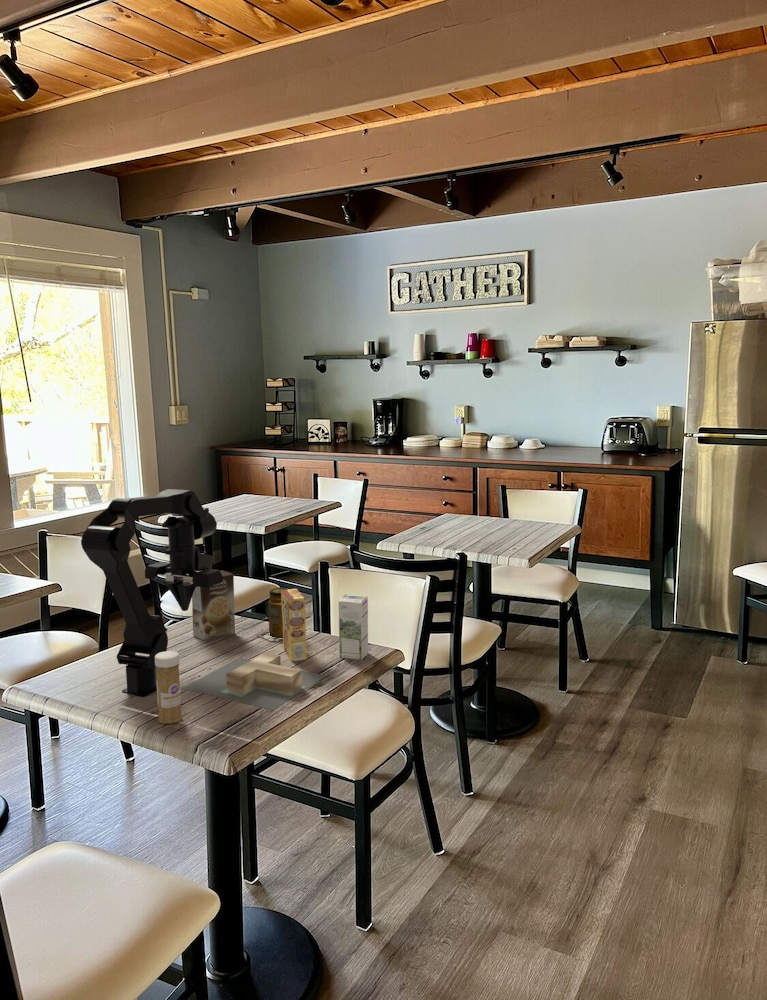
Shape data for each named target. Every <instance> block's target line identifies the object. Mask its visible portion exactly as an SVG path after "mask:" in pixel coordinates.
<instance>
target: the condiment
mask: <svg viewBox="0 0 767 1000" xmlns="http://www.w3.org/2000/svg"><path fill="white" fill-rule="evenodd" d="M288 589H289V588H287V587H274V588H272V589H270V591H269V600H268V603H267V604H268V605H267V607H268V631H266V632H263V633H262V632H261V633H258V634H256V637H259V638H261V637H263V636H264V635H266V634H265V633H268V632H269V633H270V636H272V637H276V638H283V625H282V602H281V590H288ZM263 638H264V637H263ZM263 638H262V639H263ZM279 641H281V640H280V639H279Z"/></svg>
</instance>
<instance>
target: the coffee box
mask: <svg viewBox="0 0 767 1000" xmlns="http://www.w3.org/2000/svg"><path fill="white" fill-rule="evenodd" d="M220 571H221V572H222V574H223V582H221V583H218V584H216V585H213V586H210V587H206V588H204V587H196V588H195V590H194V593H193V595H192V599H191V604H192V605H191V607H192V611H191V612H192V633H193V634H192V635H193V636H194V637H196V638H197V639H200V640H204V641H205V640H210V639H213V638H218V637H223V636H227V635H229V636H233V635H236V621H235V620H236V619H235V618H236V617H235V616H236V615H235V612H236V611H235V610H236V609H235V585H234V584H235V583H234V582H235V581H234V578H235V577H234V574H233V573H231V572H229V571H225V570H220Z"/></svg>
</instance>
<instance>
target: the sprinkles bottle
mask: <svg viewBox="0 0 767 1000" xmlns="http://www.w3.org/2000/svg"><path fill="white" fill-rule="evenodd" d="M155 665H156V674H157V680H156V683H157V691H156V698H157V708H158V718H157V719H158V722H159V723H160V724H164V725H168V724H169V725H171V724H175V723H177V722H180V720H182V718H183V715H182V696H181V695H182V694H181V693H182V692H181V686H180V685H181V682H180V667H179V666H180V654H179V652H177V651H174V650H167V651H165V652H160V653H158V654H156V655H155Z"/></svg>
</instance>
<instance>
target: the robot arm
mask: <svg viewBox="0 0 767 1000" xmlns="http://www.w3.org/2000/svg"><path fill="white" fill-rule="evenodd" d="M195 492H196V491H194V490H191V489H178V488H177V489H175V488H167V489H165V490H162V491H160V492H159V493H158V494H157V495H156V494H155V495H149V496H148V495H147V496H141V497H140V496H137V497H128V498H124V497H117V498H114V499H112V500H111V501H110V503H109V505H108V506H107V508H106V509H105V510H102V512H100V513H99V514H98V515H96V516H95V517H94V518H93V519H92V520H91V521H90V523H89V524H88V526H87V527H86V529H85V530H84V532H83V533H82V536H81V540H80V545H81V548H82V550H83V551H84V553H85V555H86V556H87V557H88V559H89V560H90V562H92V563H93V564H94V565H96V566H97V567H98V568H99V569H101V570H102V571H103V573H104V576H105V579H106V581H107V582H108V585H109V588H110V589H111V590H110V591H111V592H112V595H113V597H114V599H115V601H116V604H117V606H118V608H119V611H120V612H121V615H122V618H123V620H124V622H125V626H124V629H123V632H122V636H123V642H122V643H121V646H120V648H119V650H118V653H117V654H116V659H117V662H118V665H125V674H126V675H125V676H126V679H125V680H126V687H125V688H124V689H122V690H121V693H124V694H129V695H132V696H135V697H136V696H137V697H140V698H146V697H148V696H150V695H151V694H154V693H157V683H156V680H157V674H156V665H155V655H156V654H158V653H160V652H165V651H168V643H169V639H168V637H169V636H168V633H167V632H168V628H167V627H166V625H165V623H164V618H162V616H161V615H154V614H150V613H149V611H148V608H147V606H146V603H145V600H144V598H143V596H142V594H141V591H140V589H139V586H138V584H137V581H136V579H135V576H134V575H133V572H132V569H131V566H130V564H129V562H128V561H129V558H130V557H129V556H130V553H131V549H132V548H131V545H130V542H131V541H132V539H133V537H134V536H135V534H136V520H137V519H138V517H139V518H140V517H145V516H147V517H148V516H153V515H154V516H155V515H160V514H163V515H169V516H167V518H166V520H164V522H163V523H162V524H161V527H162V528H163V529H164V528H165V529H167V536H168V548H167V549H165V550H164V553H165V554H164V555H165V556H166V555H168V556H169V562H166V561H158V562H156V563H152V564H149V565H147V566H146V568H145V570H144V579H147V580H154V581H155V579H157V578H158V575H159V576H165V581H163V585H165V586H166V587H167V588H168V590H169V591H170V593H171V594H172V596H173V598H174V599H175V601H176V602H177V605H178V606H179V607H180V609H181V611H183V612H186V611H188V610H189V607H190V604H191V603H192V595H193V593H194V590H195V588H196V587H204V588H206V587H210V586H213V585H216V584H218V583H221V582H223V574H222V572H221V570H220V569H214V568H213V563H214V557H215V555H212V554H211V555H210V554H205V553H201V550H200V547H199V546H196V543H195V541H196V540H200V539H203V538H205V537H206V538H207V537H209V536H211V535H213V534H214V533H215V532H216V530H217V528H218V527H217V526H218V524H217V523H218V522H217V521H216V518H215V517H214V515H213V514H211V513H210V510H209V507H203V505H202V503H201V502H200V500H199V498H198V496H197V495H196V493H195ZM170 515H171V516H170ZM120 518H122V519H124V522H123V523H122V526H121V527H117V526H112V525H113V524H114V523H115V522H116V521H117V520H119V519H120ZM203 568H205V569H203ZM202 569H203V570H202ZM197 570H199V571H197ZM141 654H142V655H141ZM148 655H149V656H148Z"/></svg>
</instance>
